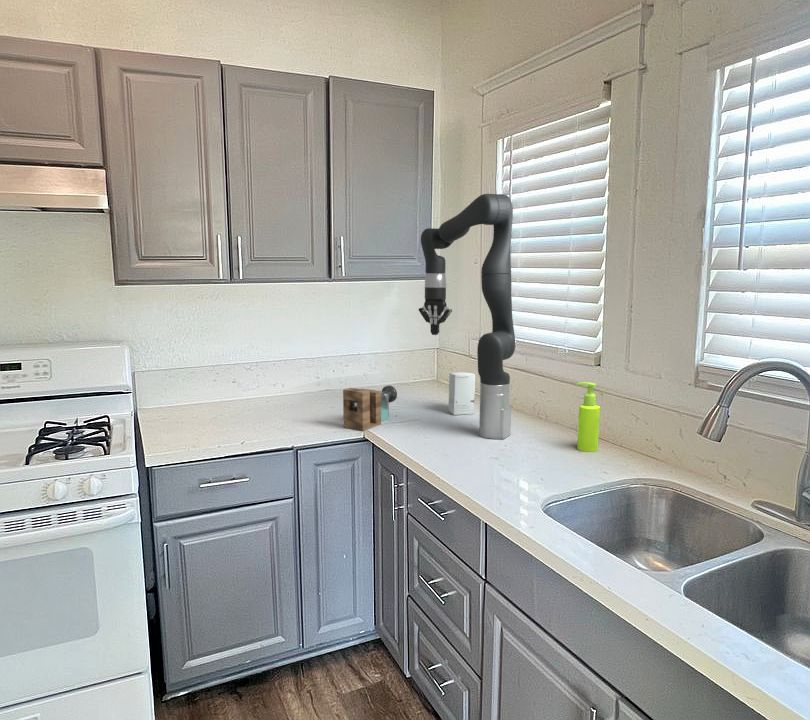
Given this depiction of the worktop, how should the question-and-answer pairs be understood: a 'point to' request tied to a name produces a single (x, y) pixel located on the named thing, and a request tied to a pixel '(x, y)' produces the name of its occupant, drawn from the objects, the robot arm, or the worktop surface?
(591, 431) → the soap dispenser
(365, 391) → the bearing stand
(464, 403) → the skincare box
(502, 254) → the robot arm
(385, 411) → the block
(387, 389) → the shaft
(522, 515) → the worktop surface
